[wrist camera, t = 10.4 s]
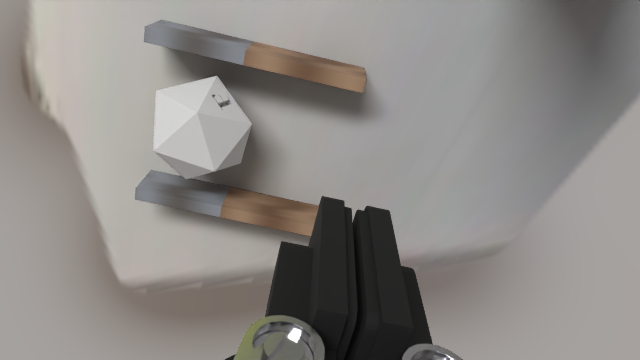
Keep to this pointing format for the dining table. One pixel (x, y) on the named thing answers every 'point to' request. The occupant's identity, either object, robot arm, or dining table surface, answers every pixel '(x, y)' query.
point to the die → (199, 127)
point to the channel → (231, 199)
